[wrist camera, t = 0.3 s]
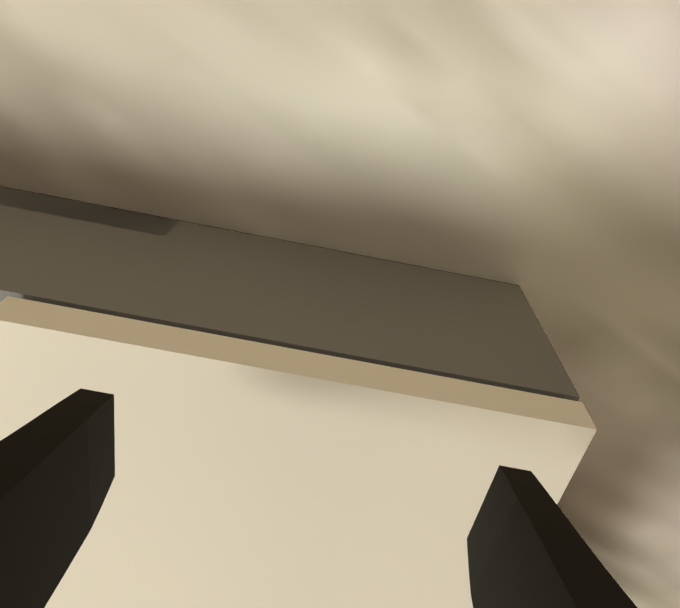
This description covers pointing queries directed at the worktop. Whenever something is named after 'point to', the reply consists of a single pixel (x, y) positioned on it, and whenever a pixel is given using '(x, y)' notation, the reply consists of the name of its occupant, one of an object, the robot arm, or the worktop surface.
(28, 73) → the worktop surface
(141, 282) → the housing
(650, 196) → the worktop surface
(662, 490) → the worktop surface
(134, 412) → the lid
